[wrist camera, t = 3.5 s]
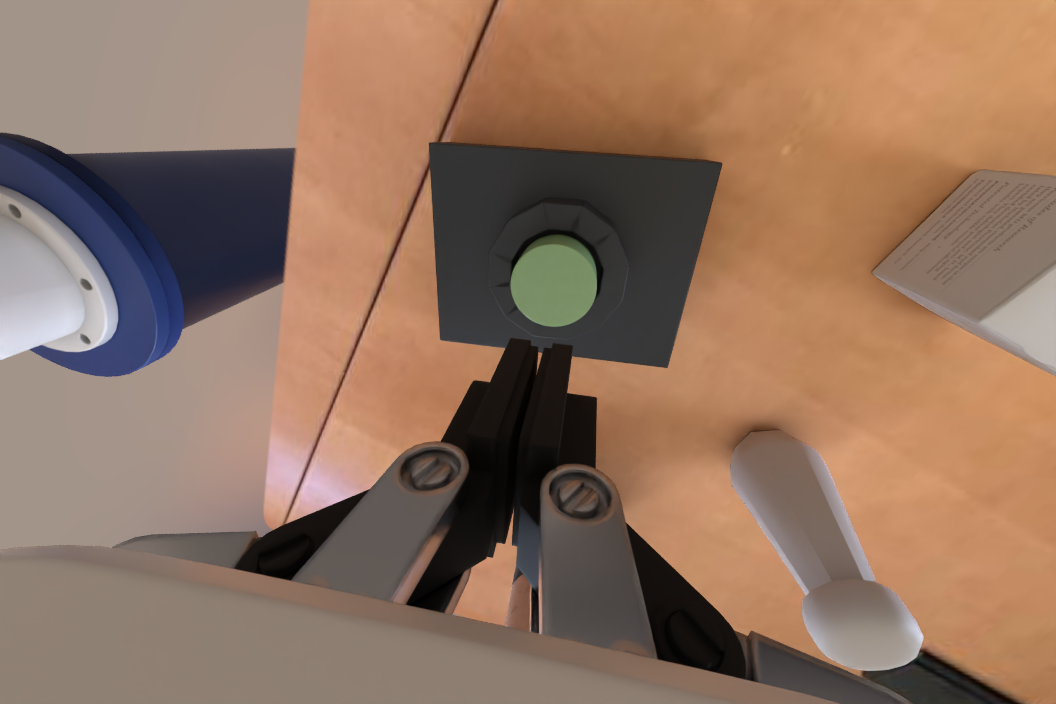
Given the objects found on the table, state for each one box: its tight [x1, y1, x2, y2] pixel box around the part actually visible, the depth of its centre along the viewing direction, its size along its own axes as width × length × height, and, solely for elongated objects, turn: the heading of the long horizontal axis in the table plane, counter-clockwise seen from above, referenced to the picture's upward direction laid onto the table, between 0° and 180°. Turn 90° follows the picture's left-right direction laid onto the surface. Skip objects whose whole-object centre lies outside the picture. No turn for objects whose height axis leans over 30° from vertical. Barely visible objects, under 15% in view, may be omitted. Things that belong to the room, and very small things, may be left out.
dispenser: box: [429, 142, 722, 368], centre depth 22 cm, size 14×11×5 cm
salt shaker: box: [730, 430, 924, 671], centre depth 23 cm, size 6×6×13 cm
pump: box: [511, 234, 597, 327], centre depth 19 cm, size 4×4×2 cm
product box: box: [872, 170, 1056, 376], centre depth 18 cm, size 6×6×7 cm
